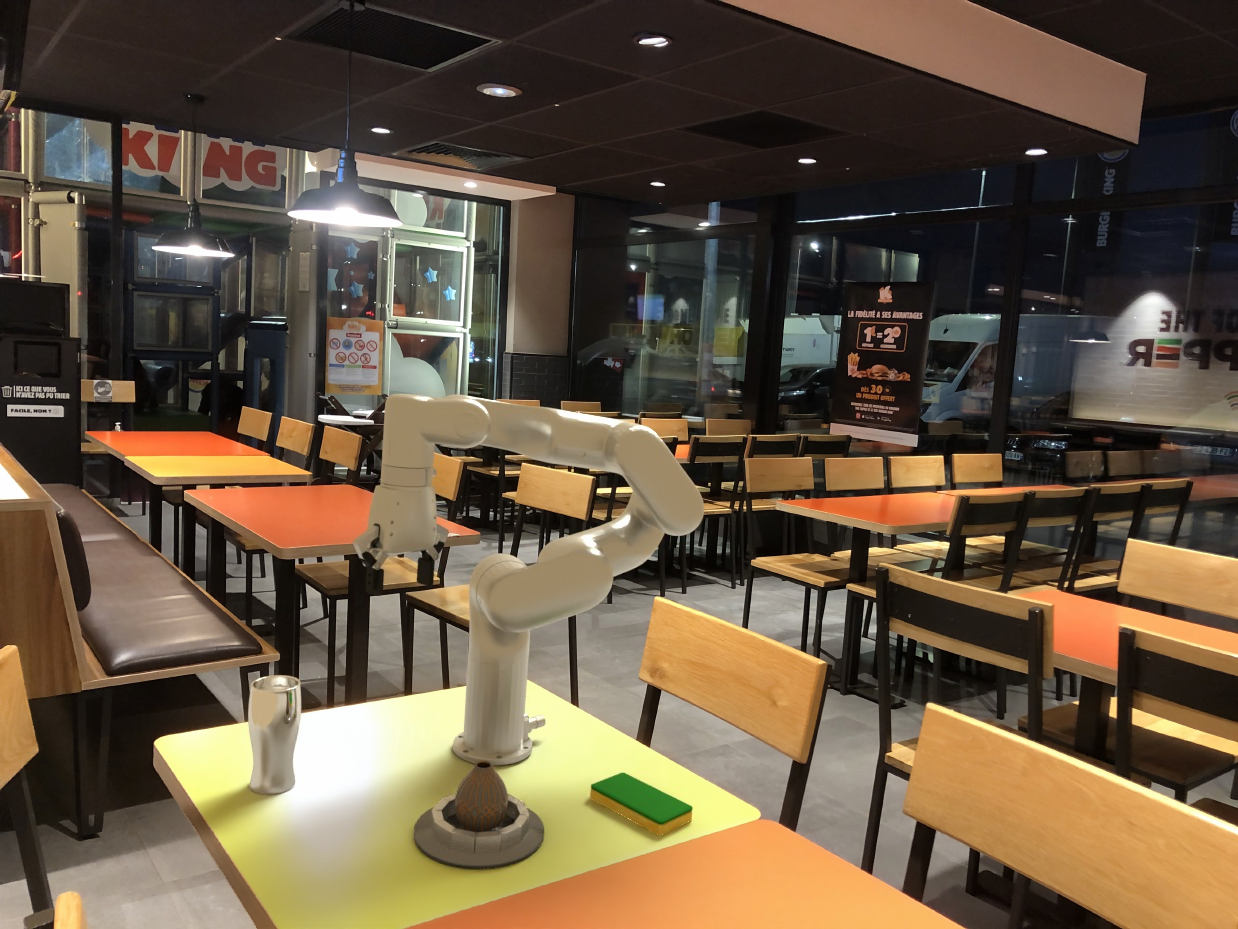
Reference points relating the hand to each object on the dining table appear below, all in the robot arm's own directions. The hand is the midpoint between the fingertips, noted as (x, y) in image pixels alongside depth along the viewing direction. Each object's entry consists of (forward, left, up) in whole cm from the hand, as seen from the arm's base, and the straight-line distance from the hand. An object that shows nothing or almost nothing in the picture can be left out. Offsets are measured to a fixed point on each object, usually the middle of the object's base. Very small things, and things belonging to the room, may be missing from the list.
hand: (400, 589), depth 140 cm
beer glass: (+18, -2, -27) cm, 32 cm away
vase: (+4, +26, -26) cm, 37 cm away
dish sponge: (-18, +36, -27) cm, 48 cm away
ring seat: (+4, +27, -27) cm, 38 cm away
